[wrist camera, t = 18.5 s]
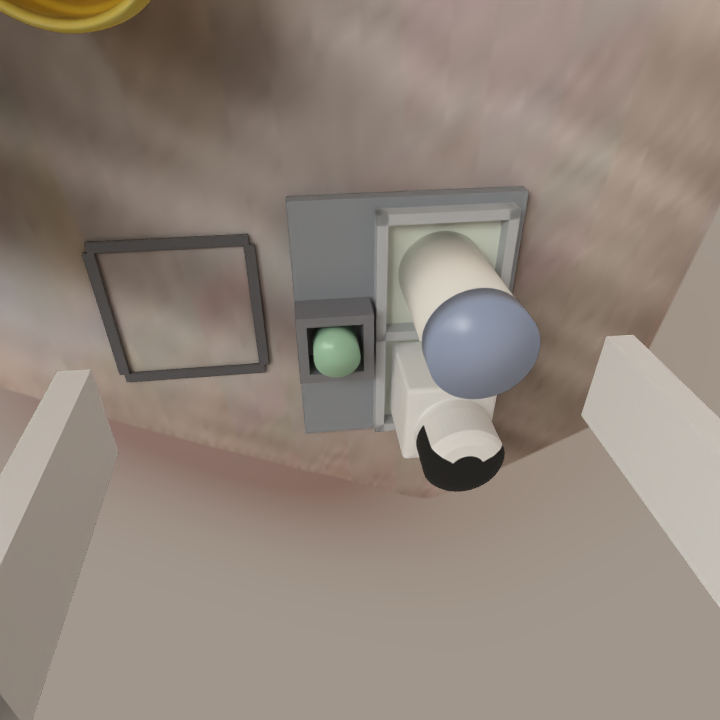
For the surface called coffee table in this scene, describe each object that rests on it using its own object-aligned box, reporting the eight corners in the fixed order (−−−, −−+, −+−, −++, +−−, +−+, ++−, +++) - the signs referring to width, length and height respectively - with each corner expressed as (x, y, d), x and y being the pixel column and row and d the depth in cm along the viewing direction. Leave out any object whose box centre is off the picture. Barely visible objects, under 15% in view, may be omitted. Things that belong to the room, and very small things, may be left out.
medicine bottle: (463, 401, 51) (506, 499, 41) (388, 406, 50) (414, 506, 40) (473, 336, 47) (523, 427, 37) (392, 340, 46) (421, 434, 36)
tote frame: (123, 380, 47) (122, 382, 47) (79, 242, 40) (78, 243, 40) (269, 370, 48) (269, 371, 48) (253, 233, 41) (252, 235, 41)
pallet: (305, 425, 52) (306, 455, 49) (286, 196, 40) (286, 215, 36) (487, 410, 54) (501, 438, 50) (523, 186, 41) (544, 203, 38)
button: (313, 358, 45) (315, 379, 43) (311, 320, 43) (312, 340, 41) (356, 355, 45) (360, 375, 43) (356, 317, 43) (360, 337, 41)
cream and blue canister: (392, 309, 45) (420, 399, 35) (402, 227, 41) (437, 302, 31) (474, 311, 46) (524, 399, 36) (491, 230, 42) (553, 304, 32)
